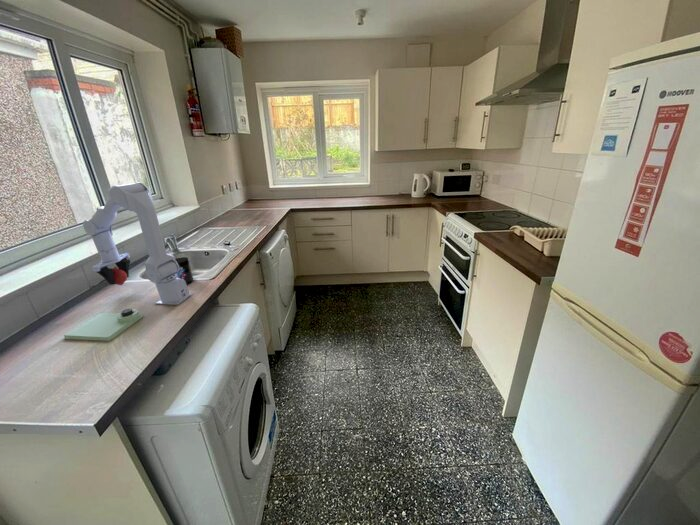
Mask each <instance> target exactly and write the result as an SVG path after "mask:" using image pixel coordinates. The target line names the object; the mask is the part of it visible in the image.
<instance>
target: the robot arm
mask: <svg viewBox="0 0 700 525" xmlns="http://www.w3.org/2000/svg"><path fill="white" fill-rule="evenodd" d="M107 195H108V198H107V200H106V202H105V204H104V205H103V206H98V207H97V208H96V209H95V210H96V211H95V212H94V214H93V215H92V216H91V218H90V219H85V220H83V223H82V228H83V230H84V232H86V234H88V236H90V237H91V239H92V241H93V244H94V246H95V249H96V251H97V253H98V255H99V258H100V261H99V262H98V263H96V264H95V265H93V266H91V269H92V271H93V272H96V273H97V274H98V275H99V276H101V277H103V279H105V281H106V282H107V284H109V285H112V286H113V285H114V286H115V285H117V284H116V283H115V279H114V277H113V268H110V266H113V265H115V266H116V267H117V269H121V270H123V271H125V272H126V274H127V278H129V277H130V275H129V268H130V264H131V259H130V258H131V256H130V253H129V252H124V253H121V254H120V253H119V251H118V248H117V246H116V243H115V241H114V239H113V234H114V233H113V222H114V221H115V220H116V219H117V217H118V213H117V212H118V210H120V208H123V209H126V210H127V211H129V212H133V213H135V214H136V215H137V219H138V222H139V226H140V229H141V232H142V237H143V239H144V243H145V246H146V251H147V254H148V257H147V259H146V261H145V262H144V266H145V270H144V272H145V274H144V275H145V277H146V279H147V280H148V281H150V282H151V283H152V284H155V287H156V290H157V293H158V296H159V298H160V299H159V300H158V301H156V302H155V305H169V306H170V305H171V306H172V305H173V306H178V305H180V304H182V302H184V301H185V300H186V299H188V298H189V297H190V296H191V295H192V293H190V291H189V288H188V284H186V282H185V280H184V279H180V278H178V277H177V275H178V274H177V273H178V272H179V265H178V263H177V262H176V260H175V259H176V256H174V255H173V254H171V253H167V249H166V246H165V243H164V239H163V234H162V230H161V226H160V223H159V219H158V214H157V210H156V208H155V204H154V198H153V196H152V192H151V189H150V188H149V187H148V186H147V185H146V184H144V183H143V182H140V181H139V182H138V181H137V182H134V183H127V184H120V185H112V186H110V188H109V190H108V191H107Z"/></svg>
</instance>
